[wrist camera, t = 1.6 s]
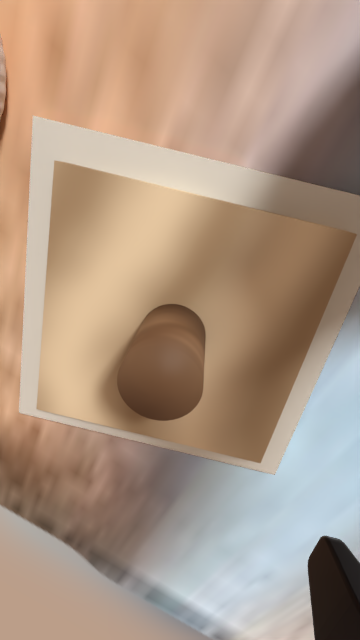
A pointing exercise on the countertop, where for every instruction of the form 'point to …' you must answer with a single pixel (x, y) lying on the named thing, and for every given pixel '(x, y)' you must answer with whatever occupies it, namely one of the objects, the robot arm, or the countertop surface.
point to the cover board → (188, 268)
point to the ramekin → (2, 78)
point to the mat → (199, 179)
